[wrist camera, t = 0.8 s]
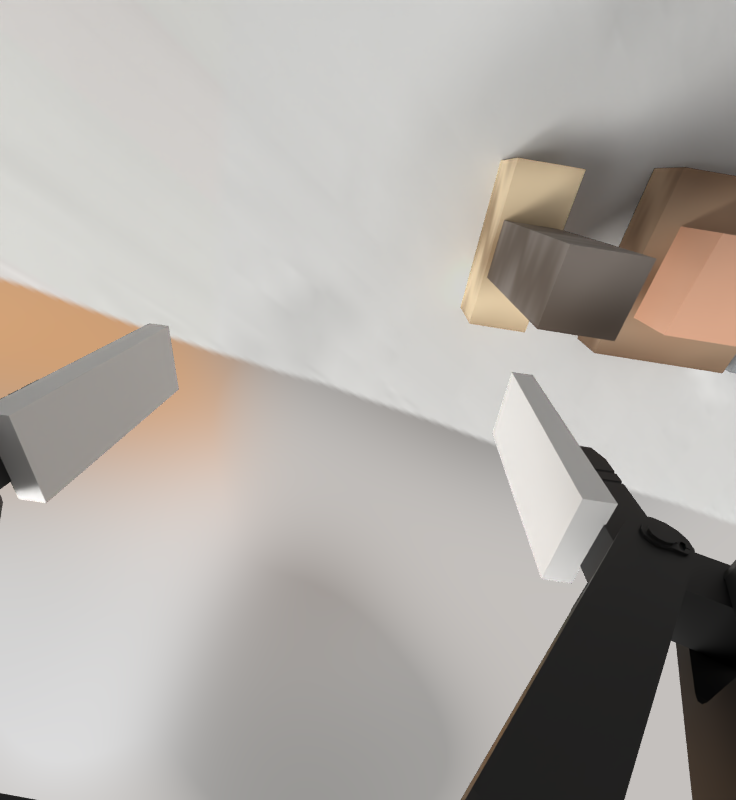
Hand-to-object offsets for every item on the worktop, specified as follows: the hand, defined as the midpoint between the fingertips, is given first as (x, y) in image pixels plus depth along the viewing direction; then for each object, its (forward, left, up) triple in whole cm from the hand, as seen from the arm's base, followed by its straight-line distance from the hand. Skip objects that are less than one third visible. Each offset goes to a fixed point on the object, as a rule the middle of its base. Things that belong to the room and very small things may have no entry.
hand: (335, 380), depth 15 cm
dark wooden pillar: (-4, +10, -17) cm, 20 cm away
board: (-4, +23, -17) cm, 29 cm away
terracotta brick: (-4, +23, -14) cm, 27 cm away
